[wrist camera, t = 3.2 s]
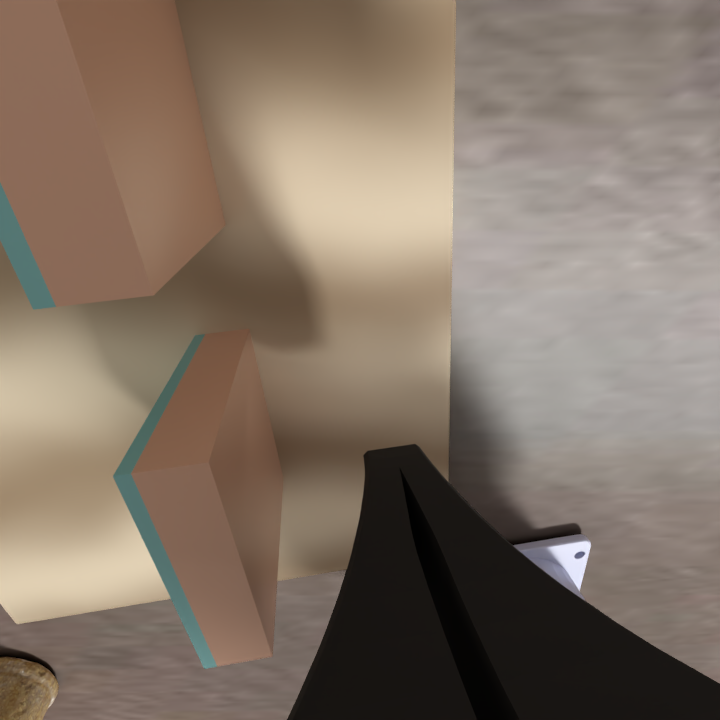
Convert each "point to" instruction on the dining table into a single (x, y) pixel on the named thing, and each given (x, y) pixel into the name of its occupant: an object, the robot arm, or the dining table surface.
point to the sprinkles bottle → (25, 689)
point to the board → (256, 298)
